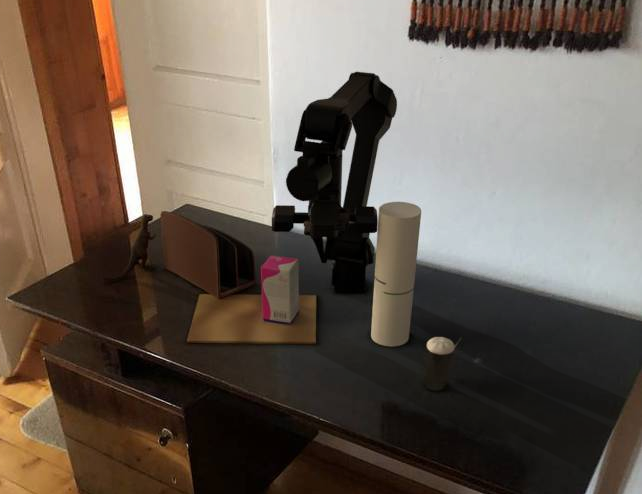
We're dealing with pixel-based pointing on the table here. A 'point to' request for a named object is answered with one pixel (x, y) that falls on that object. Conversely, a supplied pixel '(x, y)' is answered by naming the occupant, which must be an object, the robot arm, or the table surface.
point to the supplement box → (280, 289)
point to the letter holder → (206, 256)
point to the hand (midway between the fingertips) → (324, 262)
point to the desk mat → (249, 321)
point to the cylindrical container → (395, 272)
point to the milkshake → (438, 362)
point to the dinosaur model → (138, 249)
